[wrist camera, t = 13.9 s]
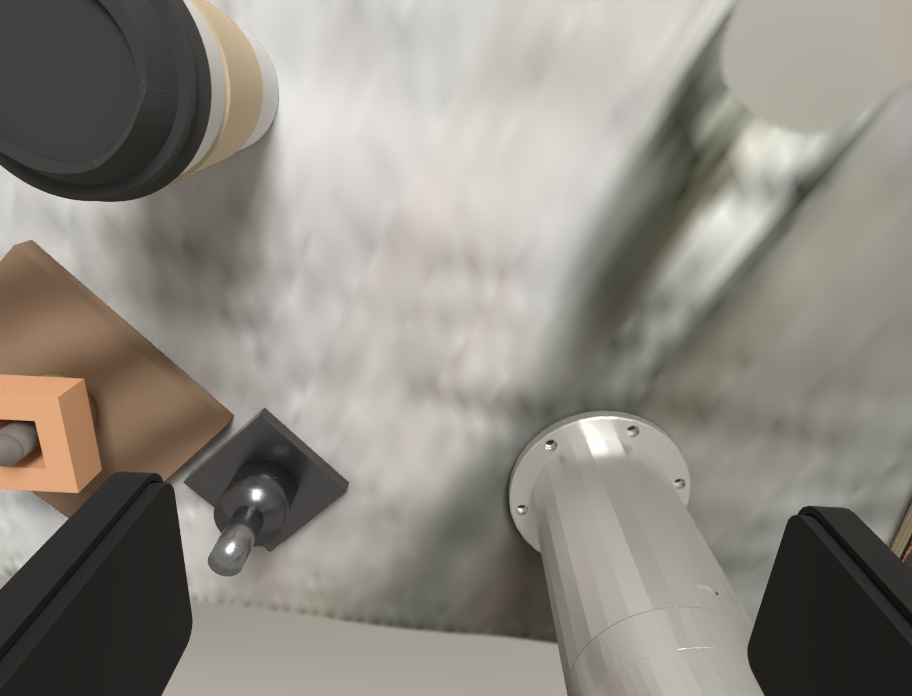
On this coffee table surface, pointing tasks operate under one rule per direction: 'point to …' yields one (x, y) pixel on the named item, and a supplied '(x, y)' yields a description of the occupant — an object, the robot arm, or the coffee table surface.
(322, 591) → the coffee table surface
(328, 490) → the stand
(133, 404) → the toggle switch
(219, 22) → the coffee cup
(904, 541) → the hardcover book
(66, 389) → the square peach frame
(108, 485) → the robot arm
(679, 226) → the coffee table surface
